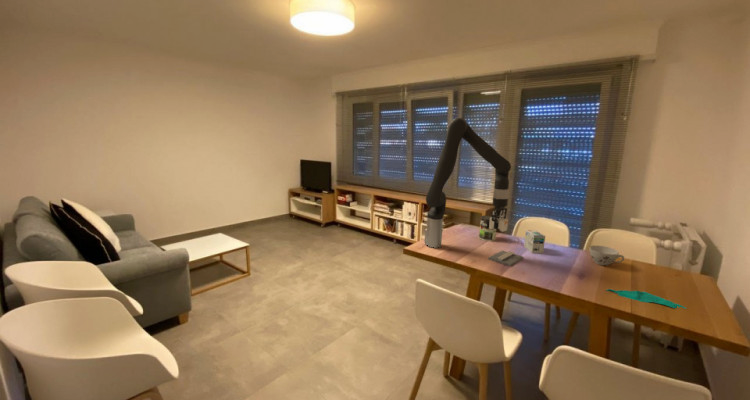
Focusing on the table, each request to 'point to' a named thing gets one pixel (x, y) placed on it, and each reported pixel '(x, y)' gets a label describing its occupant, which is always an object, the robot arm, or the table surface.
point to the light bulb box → (534, 241)
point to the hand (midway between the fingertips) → (498, 227)
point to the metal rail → (505, 256)
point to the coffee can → (486, 229)
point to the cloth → (645, 297)
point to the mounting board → (508, 261)
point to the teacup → (604, 255)
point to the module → (501, 225)
